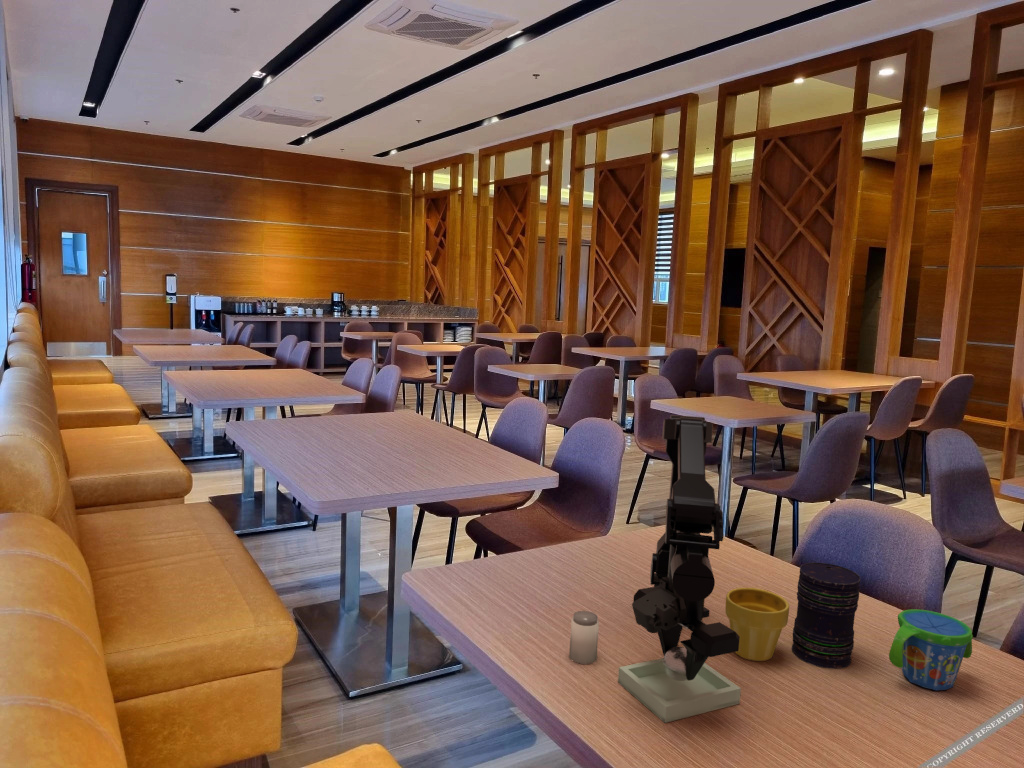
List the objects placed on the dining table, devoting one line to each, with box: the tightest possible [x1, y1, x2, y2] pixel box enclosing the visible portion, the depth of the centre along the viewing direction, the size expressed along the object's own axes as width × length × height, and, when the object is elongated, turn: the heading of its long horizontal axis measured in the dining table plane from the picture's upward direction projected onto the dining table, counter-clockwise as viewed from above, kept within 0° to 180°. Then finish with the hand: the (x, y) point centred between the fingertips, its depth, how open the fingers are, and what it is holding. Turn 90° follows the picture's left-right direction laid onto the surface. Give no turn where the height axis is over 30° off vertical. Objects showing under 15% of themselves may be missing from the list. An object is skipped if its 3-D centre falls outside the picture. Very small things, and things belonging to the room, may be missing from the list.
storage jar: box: [791, 562, 861, 670], centre depth 131 cm, size 10×10×15 cm
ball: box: [662, 646, 687, 681], centre depth 116 cm, size 5×5×5 cm
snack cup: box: [888, 608, 974, 691], centre depth 124 cm, size 16×11×10 cm
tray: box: [617, 657, 742, 724], centre depth 117 cm, size 14×12×2 cm
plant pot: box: [725, 587, 790, 662], centre depth 131 cm, size 10×10×10 cm
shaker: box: [568, 610, 600, 665], centre depth 126 cm, size 5×5×7 cm
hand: (679, 671), depth 116 cm, fingers closed on ball, 5 cm apart
